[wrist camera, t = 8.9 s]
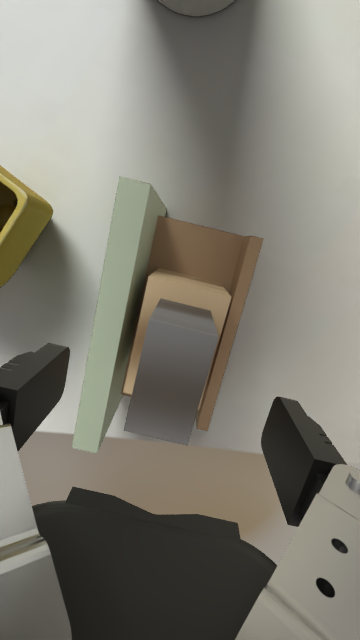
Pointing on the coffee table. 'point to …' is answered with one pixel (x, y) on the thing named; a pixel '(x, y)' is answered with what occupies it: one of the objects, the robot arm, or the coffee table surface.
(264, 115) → the coffee table surface
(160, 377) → the cabinet block
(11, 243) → the flower pot
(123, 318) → the wall board
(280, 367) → the coffee table surface
